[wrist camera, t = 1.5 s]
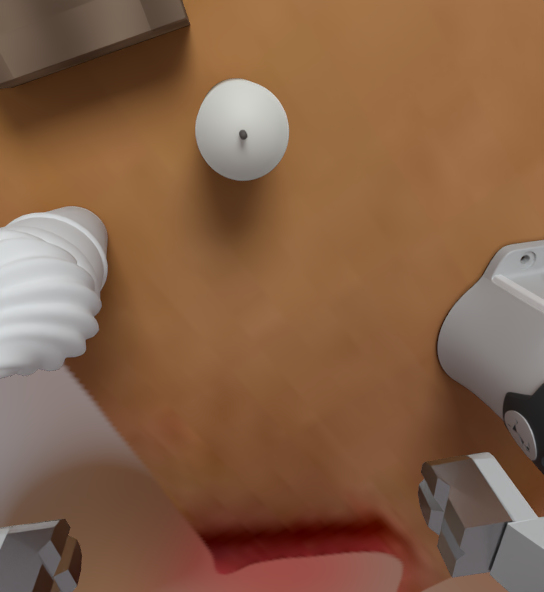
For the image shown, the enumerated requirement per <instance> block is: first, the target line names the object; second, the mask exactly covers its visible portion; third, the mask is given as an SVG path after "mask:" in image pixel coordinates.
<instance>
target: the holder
mask: <svg viewBox="0 0 544 592" xmlns="http://www.w3.org/2000/svg"><path fill="white" fill-rule="evenodd" d="M188 25H190V22H189V19H188V16H187V13H186V10H185V7H184V4H183V1H182V0H0V89H2V88H12V87H15V86H18V85H21V84H24V83H26V82H29V81H32V80H35V79H38V78H41V77H43V76H46V75H49V74H52V73H55V72H58V71H60V70H63V69H66V68H69V67H72V66H75V65H77V64H80V63H83V62H86V61H89V60H91V59H94V58H97V57H100V56H103V55H106V54H108V53H111V52H114V51H117V50H120V49H123V48H125V47H128V46H131V45H134V44H137V43H140V42H142V41H145V40H148V39H151V38H154V37H156V36H159V35H162V34H165V33H168V32H171V31H173V30H176V29H179V28H182V27H185V26H188Z"/></svg>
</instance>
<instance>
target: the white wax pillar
mask: <svg viewBox="0 0 544 592" xmlns="http://www.w3.org/2000/svg"><path fill="white" fill-rule="evenodd" d="M195 131H196V140H197V144H198V148H199V150H200V152H201V155H202V156H203V158H204V160H205V161H206V162H207V164H208V165H209V166H210V167H211V168H212V169H213V170H215V171H216V172H217V173H219V174H220V175H222V176H224V177H227V178H229V179H233V180H239V181H247V180H253V179H257V178H259V177H262V176H264V175H265V174H267V173H269V172H270V171H271V170H272V169H273V168H274V167H275V166H276V165H277V164H278V163H279V162H280V160H281V159H282V157H283V155H284V153H285V150H286V147H287V144H288V138H289V126H288V120H287V116H286V113H285V111H284V109H283V107H282V105H281V103H280V102H279V100H278V99H277V98H276V97H275V96H274V95H273V94H272V93H271V92H270V91H269V90H267V89H266V88H264V87H262V86H260V85H258V84H256V83H253V82H251V81H248V80H245V79H240V78H231V79H226V80H223V81H221V82H219V83H218V84H216V85H215V86H214V87H212V88H211V89H210V91H209V92H208V93H207V95H206V96H205V98H204V100H203V103H202V105H201V107H200V110H199V112H198V115H197V120H196V128H195Z"/></svg>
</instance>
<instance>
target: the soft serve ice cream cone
mask: <svg viewBox="0 0 544 592" xmlns="http://www.w3.org/2000/svg"><path fill="white" fill-rule="evenodd" d="M107 241H108V235H107V230H106V228H105V226H104V224H103V222H102V221H101V220H100V219H99V218H98V217H97V216H96V215H95V214H94V213H92V212H91V211H89V210H87V209H84V208H81V207H76V206H67V207H63V208H59V209H56V210H52V211H48V212H45V213H31V214H27V215H23V216H21V217H19V218H17V219H15V220H13V221H12V222H10V223H9V224H8V225H7V226H6V227H2V228H0V378H5V377H8V376H12V375H14V374H18V375H22V376H26V375H31V374H33V373H35V372H36V371H37V370H38V369H42V370H46V371H54V370H58V369H60V368H61V367H62V365H63V363H64V360H65V358H67V357H77V356H80V355H82V354H84V353H85V351H86V339H89V338H91V337H94V336H95V335H96V334H97V332H98V331H99V326H98V323H97V320H96V319H95V318H94V316H95V315H97V314H98V312H99V311H100V309H101V307H102V304H101V300H100V291H101V290H102V288H103V286H104V284H105V282H106V278H107V274H108V264H107V259H106V254H107Z"/></svg>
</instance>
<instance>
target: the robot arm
mask: <svg viewBox="0 0 544 592" xmlns="http://www.w3.org/2000/svg"><path fill="white" fill-rule="evenodd" d="M524 255H525V256H524ZM523 256H524V258H523V259H522V260H521V258H522V257H523ZM438 357H439V361H440V364H441V366H442V368H443V369H444V371H445V372H446V373H447V374H448V375H449V376H450V377H451V378H452V379H453V380H455V381H457V382H458V383H460V384H462V385H463V386H464V387H466V388H467V389H469V390H470V391H471V392H472V393H474V394H475V395H476V396H477V397H478V398H480V399H481V400H482V401H483V402H484V403H485V404H487V405H488V406H489V407H490V408H491V409H492V410H493V411H494V412H495V413H496V414H497V415H498V416H499V417H500V418H501V419H502V420H503V421H504V423H505V426H506V427H507V429H508V430H509V432H510V434H511V435H512V437H513V438H514V440H515V441H516V443H517V444H518V445H519V447H520V448H521V449H522V451H523V452H524V453H525V454H526V455H527V456H528V457H529V458H530V459H531V460H532V461H533V463H534V464H535V465H536V466H537V467H538V469H539V470H540V471H541V472H542V473H543V474H544V240H540V241H532V242H525V243H518V244H511V245H507V246H505V247H503V248H501V249H500V250H499V251H498V252H497V253H496V255H495V256H494V257H493V259H492V260H491V262H490V264H489V265H488V267H487V269H486V271H485V272H484V274H483V276H482V277H481V278H480V280H479V281H478V282H477V283H476V284H475V285H474V286H473V287H471V288H470V289H469V290H468V291H467V292H466V293H465V294H464V295H463V296H462V297H461V298H460V299H459V300H458V301H457V303H456V304H455V305H454V306H453V308H452V309H451V311H450V312H449V314H448V315H447V317H446V319H445V321H444V323H443V325H442V328H441V331H440V334H439V338H438ZM421 473H422V475H423V477H424V480H423V481H422V482H421V483H420V484H419V490H418V497H419V503H420V508H421V511H422V514H423V516H424V519H425V521H426V523H427V525H428V527H429V528H430V529H432V530H433V531H434V532H436V533H437V534H438V535H439V540H438V546H437V547H438V549H439V551H440V553H441V555H442V557H443V559H444V562H445V564H446V566H447V568H448V570H449V572H450V574H451V576H452V577H458V576H465V575H472V574H479V573H486V572H490V575H491V576H492V577H493V578H494V579H495V580H496V581H497V582H499V583H500V584H501V585H502V586H503V587H504V588H505V589H506V590H507V591H509V592H544V517H537V515H536V514H535V513H534V511H533V510H532V508H531V507H530V506H529V504H528V503H527V502H526V500H525V499H524V497H523V496H522V495H521V493H520V492H519V491H518V489H517V488H516V486H515V485H514V484H513V482H512V481H511V480H510V478H509V477H508V475H507V474H506V473H505V471H504V470H503V469H502V467H501V466H500V464H499V463H498V462H497V460H496V459H495V458H494V456H493V455H491V454H490V453H489V452H482V453H477V454H471V455H466V456H465V455H461V456H455V457H449V458H444V459H438V460H432V461H427V462H425V463H424V464H423V465H422V470H421ZM69 530H70V526H69V524H68V523H67V521H66V519H59V520H53V521H45V522H39V523H32V524H24V525H18V526H9V527H3V528H0V592H72V591H73V590H74V589H75V588H76V587H77V584H78V580H79V576H80V572H81V560H82V554H81V549H80V545H79V543H78V541H77V539H75V538H73V537H71V536H69V535H68V534H69Z"/></svg>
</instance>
